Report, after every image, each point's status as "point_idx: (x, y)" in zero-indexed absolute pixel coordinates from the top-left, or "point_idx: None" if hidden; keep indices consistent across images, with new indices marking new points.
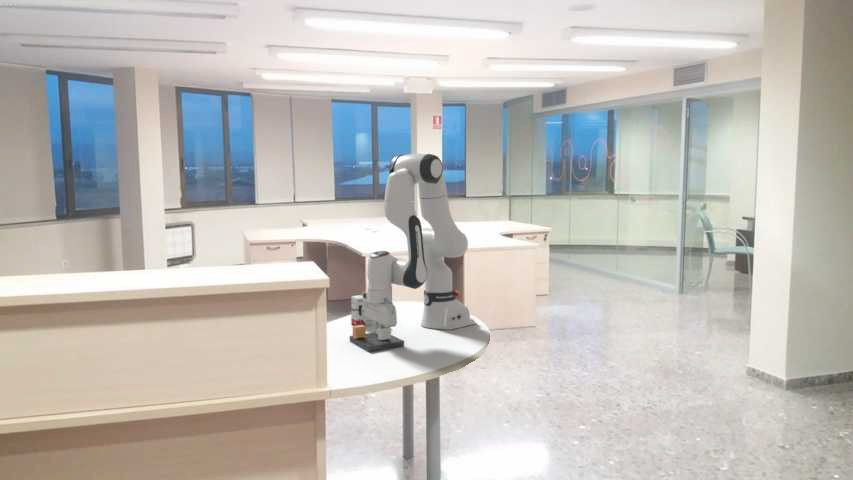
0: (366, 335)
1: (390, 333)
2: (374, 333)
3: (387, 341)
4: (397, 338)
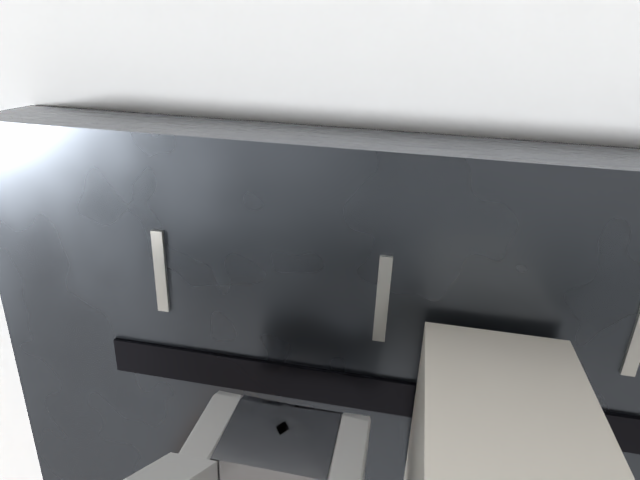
0: (121, 461)
1: (600, 432)
2: (60, 326)
3: (633, 450)
4: (602, 195)
